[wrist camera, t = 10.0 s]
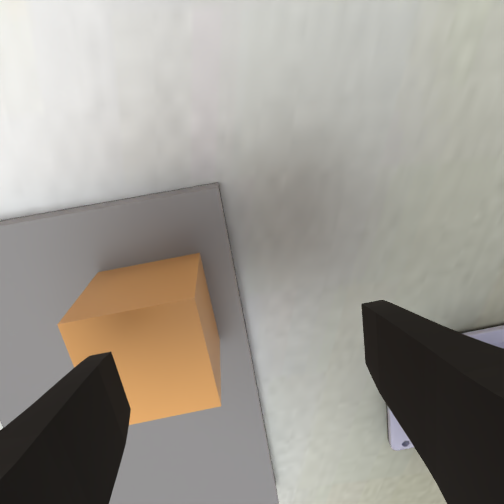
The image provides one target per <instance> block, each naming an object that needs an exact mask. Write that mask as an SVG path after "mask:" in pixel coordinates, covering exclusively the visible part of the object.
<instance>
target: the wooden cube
mask: <svg viewBox="0 0 504 504" xmlns="http://www.w3.org/2000/svg"><path fill="white" fill-rule="evenodd" d="M57 325H58V328H59V330H60V333H61V335H62V338H63V340H64V343H65V345H66V348H67V350H68V353H69V356H70V358H71V361H72V363H73V366H74V367H76V366H77V365H78V364H79V363H80V362H82V361H83V360H84V359H86V358H87V357H89V356H91V355H96V354H101V353H106V352H112V355H113V358H114V361H115V364H116V367H117V370H118V373H119V376H120V379H121V382H122V385H123V388H124V391H125V394H126V396H127V399H128V402H129V405H130V408H131V412H130V420H129V425H132V424H137V423H142V422H147V421H152V420H157V419H162V418H166V417H171V416H176V415H181V414H186V413H191V412H196V411H200V410H205V409H210V408H215V407H220V406H221V370H220V338H219V334H218V330H217V325H216V321H215V317H214V312H213V308H212V304H211V299H210V295H209V291H208V286H207V282H206V278H205V274H204V269H203V265H202V261H201V256H200V253H196V254H190V255H185V256H180V257H175V258H170V259H164V260H159V261H154V262H149V263H143V264H138V265H133V266H128V267H123V268H117V269H112V270H107V271H102V272H98V273H97V274H96V275H95V277H94V278H93V279H92V280H91V282H90V283H89V284H88V286H87V287H86V288H85V289H84V291H83V292H82V293H81V295H80V296H79V297H78V299H77V300H76V301H75V302H74V304H73V305H72V306H71V308H70V309H69V310H68V311H67V313H66V314H65V315H64V317H63V318H62V319H61V320H60V322H59V323H58V324H57Z"/></svg>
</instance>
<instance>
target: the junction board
mask: <svg viewBox="0 0 504 504" xmlns="http://www.w3.org/2000/svg"><path fill="white" fill-rule="evenodd" d="M196 253H200V256H201V261H202V265H203V269H204V274H205V278H206V282H207V286H208V291H209V295H210V299H211V304H212V308H213V312H214V317H215V321H216V325H217V330H218V334H219V338H220V370H221V406H220V407H215V408H210V409H205V410H200V411H196V412H191V413H186V414H181V415H176V416H171V417H166V418H162V419H157V420H152V421H147V422H142V423H137V424H132V425H129V427H128V434H127V440H126V445H125V449H124V453H123V456H122V460H121V463H120V467H119V471H118V474H117V478H116V481H115V484H114V488H113V491H112V495H111V498H110V502H109V504H279V501H278V495H277V489H276V484H275V478H274V473H273V468H272V463H271V457H270V452H269V447H268V442H267V436H266V431H265V426H264V421H263V416H262V410H261V405H260V400H259V395H258V389H257V384H256V379H255V374H254V368H253V363H252V358H251V353H250V348H249V342H248V337H247V332H246V327H245V321H244V316H243V311H242V306H241V300H240V295H239V290H238V285H237V280H236V274H235V269H234V264H233V259H232V253H231V248H230V243H229V238H228V232H227V227H226V222H225V217H224V211H223V206H222V201H221V196H220V191H219V185H218V183H212V184H207V185H201V186H195V187H190V188H184V189H178V190H173V191H167V192H161V193H156V194H150V195H144V196H139V197H133V198H128V199H122V200H116V201H111V202H105V203H99V204H94V205H88V206H82V207H77V208H71V209H65V210H60V211H54V212H48V213H43V214H37V215H31V216H26V217H20V218H14V219H9V220H3V221H0V422H1V424H2V426H3V428H4V427H5V426H6V425H8V424H9V423H10V422H11V421H13V420H14V419H15V418H16V417H17V416H19V415H20V414H21V413H22V412H24V411H25V410H26V409H27V408H28V407H30V406H31V405H32V404H33V403H34V402H35V401H37V400H38V399H39V398H40V397H41V396H42V395H43V394H45V393H46V392H47V391H48V390H49V389H50V388H51V387H53V386H54V385H55V384H56V383H57V382H58V381H59V380H61V379H62V378H63V377H64V376H65V375H66V374H67V373H69V372H70V371H71V370H72V369H73V368H74V366H73V363H72V361H71V358H70V356H69V353H68V350H67V348H66V345H65V343H64V340H63V338H62V335H61V333H60V330H59V328H58V325H57V324H58V323H59V322H60V320H61V319H62V318H63V317H64V315H65V314H66V313H67V311H68V310H69V309H70V308H71V306H72V305H73V304H74V302H75V301H76V300H77V299H78V297H79V296H80V295H81V293H82V292H83V291H84V289H85V288H86V287H87V286H88V284H89V283H90V282H91V280H92V279H93V278H94V277H95V275H96V274H97V273H98V272H102V271H107V270H112V269H117V268H123V267H128V266H133V265H138V264H143V263H149V262H154V261H159V260H164V259H170V258H175V257H180V256H185V255H190V254H196Z"/></svg>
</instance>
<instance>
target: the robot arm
mask: <svg viewBox="0 0 504 504" xmlns="http://www.w3.org/2000/svg"><path fill="white" fill-rule="evenodd" d="M362 317H363V332H364V346H365V361H366V365H367V367H368V369H369V372H370V374H371V376H372V378H373V380H374V382H375V384H376V386H377V388H378V391H379V393H380V394H381V396H382V398H383V399H384V401H385V402H386V404H387V411H388V432H389V444H390V446H391V448H392V449H393V450H403V449H408V448H412V447H415V449H416V450H417V452H418V453H419V455H420V457H421V458H422V460H423V461H424V463H425V464H426V466H427V468H428V469H429V471H430V473H431V474H432V476H433V478H434V479H435V481H436V483H437V485H438V487H439V489H440V490H441V492H442V494H443V496H444V498H445V500H446V502H447V504H504V325H502V326H497V327H492V328H487V329H482V330H476V331H471V332H466V333H459V332H457V331H454V330H452V329H449V328H447V327H444V326H442V325H440V324H437V323H435V322H433V321H430V320H428V319H426V318H424V317H421V316H419V315H417V314H415V313H413V312H410V311H408V310H406V309H404V308H401V307H399V306H397V305H394V304H392V303H390V302H387V301H384V300H379V301H374V302H369V303H363V304H362ZM130 412H131V408H130V405H129V402H128V399H127V396H126V394H125V391H124V388H123V385H122V382H121V379H120V376H119V373H118V370H117V367H116V364H115V361H114V358H113V355H112V352H106V353H101V354H96V355H91V356H89V357H87V358H86V359H84V360H83V361H82V362H80V363H79V364H78V365H77V366H76V367H74V368H73V369H72V370H71V371H70V372H69V373H67V374H66V375H65V376H64V377H63V378H62V379H61V380H59V381H58V382H57V383H56V384H55V385H54V386H53V387H51V388H50V389H49V390H48V391H47V392H46V393H45V394H43V395H42V396H41V397H40V398H39V399H38V400H37V401H35V402H34V403H33V404H32V405H31V406H30V407H28V408H27V409H26V410H25V411H24V412H22V413H21V414H20V415H19V416H17V417H16V418H15V419H14V420H13V421H11V422H10V423H9V424H8V425H6V426H5V427H4V428H3V429H2V430H0V504H109V502H110V498H111V495H112V491H113V488H114V484H115V481H116V478H117V474H118V471H119V467H120V463H121V460H122V456H123V453H124V449H125V445H126V440H127V434H128V427H129V420H130Z"/></svg>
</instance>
